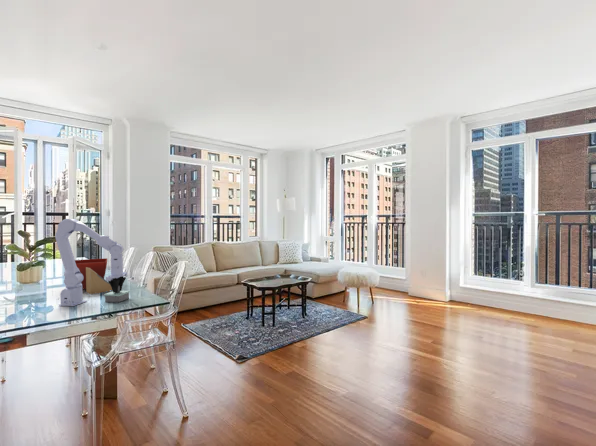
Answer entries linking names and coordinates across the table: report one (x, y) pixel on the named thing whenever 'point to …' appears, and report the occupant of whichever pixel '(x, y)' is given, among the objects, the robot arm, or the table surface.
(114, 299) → the box
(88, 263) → the plant pot
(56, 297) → the table surface
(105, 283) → the sandwich container
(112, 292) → the lid
